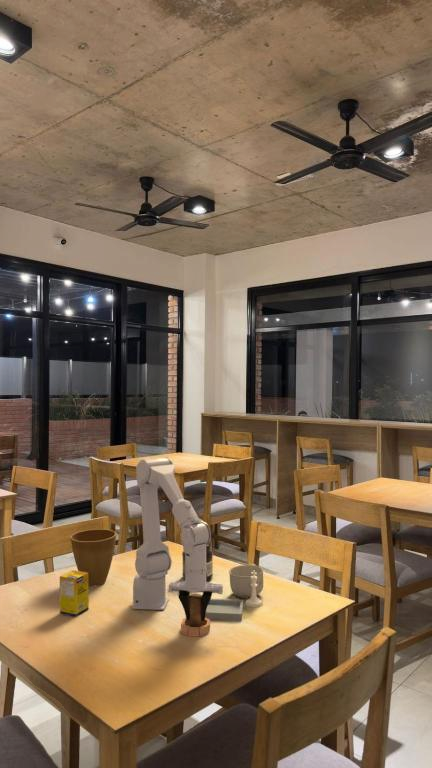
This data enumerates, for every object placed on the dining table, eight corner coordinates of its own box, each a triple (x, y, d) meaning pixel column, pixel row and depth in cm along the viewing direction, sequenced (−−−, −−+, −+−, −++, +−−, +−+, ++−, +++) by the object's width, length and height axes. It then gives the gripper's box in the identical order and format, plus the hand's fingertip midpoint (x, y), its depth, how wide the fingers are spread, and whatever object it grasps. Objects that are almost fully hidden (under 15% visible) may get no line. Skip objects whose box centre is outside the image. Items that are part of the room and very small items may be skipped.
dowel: (188, 632, 145) (188, 598, 145) (190, 626, 149) (190, 593, 149) (201, 633, 145) (201, 599, 145) (203, 626, 148) (203, 594, 148)
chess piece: (261, 607, 161) (261, 573, 161) (244, 606, 162) (244, 572, 162) (263, 601, 166) (263, 568, 166) (247, 599, 167) (247, 567, 167)
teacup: (253, 604, 163) (253, 578, 163) (222, 597, 169) (222, 571, 169) (273, 589, 175) (273, 564, 175) (244, 583, 181) (244, 559, 181)
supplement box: (89, 609, 160) (89, 572, 160) (76, 617, 154) (75, 579, 154) (72, 606, 162) (72, 569, 162) (59, 613, 157) (59, 576, 157)
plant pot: (99, 571, 192) (99, 526, 192) (125, 582, 182) (125, 534, 182) (62, 582, 181) (61, 534, 181) (86, 594, 171) (86, 543, 171)
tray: (199, 618, 154) (199, 612, 154) (203, 604, 163) (203, 598, 163) (241, 620, 152) (241, 613, 152) (243, 605, 162) (243, 599, 162)
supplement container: (216, 581, 182) (216, 546, 182) (185, 584, 180) (185, 548, 180) (209, 571, 192) (209, 537, 192) (179, 573, 190) (179, 539, 190)
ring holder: (179, 635, 143) (179, 627, 143) (184, 622, 151) (184, 615, 151) (208, 636, 142) (208, 629, 142) (211, 624, 150) (211, 616, 150)
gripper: (166, 572, 143) (166, 624, 143) (220, 574, 142) (221, 626, 142) (171, 563, 150) (171, 612, 150) (223, 565, 149) (223, 615, 149)
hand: (195, 618), depth 147 cm, fingers closed on dowel, 4 cm apart
